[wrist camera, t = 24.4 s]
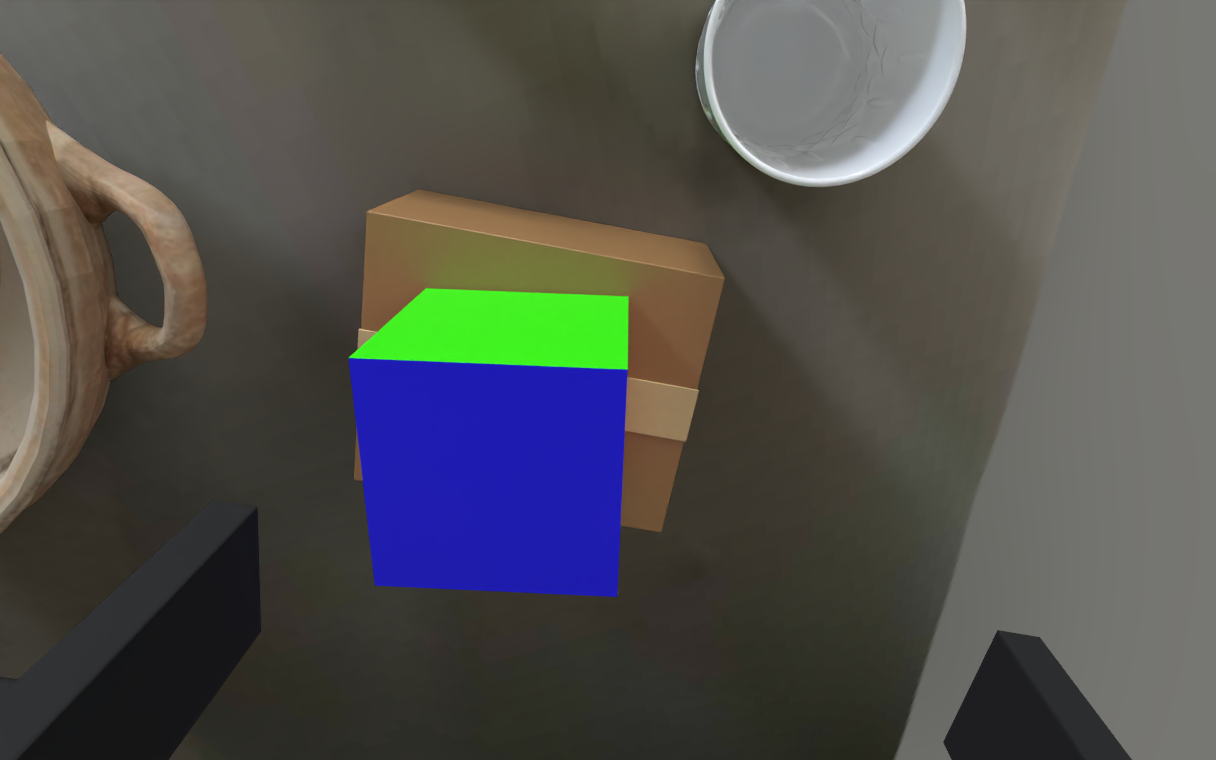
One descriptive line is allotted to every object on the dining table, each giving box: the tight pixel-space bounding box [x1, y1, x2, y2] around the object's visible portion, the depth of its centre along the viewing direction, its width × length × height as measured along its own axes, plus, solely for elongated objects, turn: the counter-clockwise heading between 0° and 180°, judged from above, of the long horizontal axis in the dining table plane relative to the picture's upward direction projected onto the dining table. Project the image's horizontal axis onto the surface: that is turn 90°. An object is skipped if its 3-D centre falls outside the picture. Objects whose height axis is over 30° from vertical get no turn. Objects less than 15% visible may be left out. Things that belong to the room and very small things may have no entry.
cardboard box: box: [354, 190, 725, 532], centre depth 32 cm, size 14×12×7 cm
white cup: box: [695, 0, 966, 187], centre depth 26 cm, size 8×8×10 cm
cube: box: [349, 288, 629, 597], centre depth 25 cm, size 8×8×8 cm
